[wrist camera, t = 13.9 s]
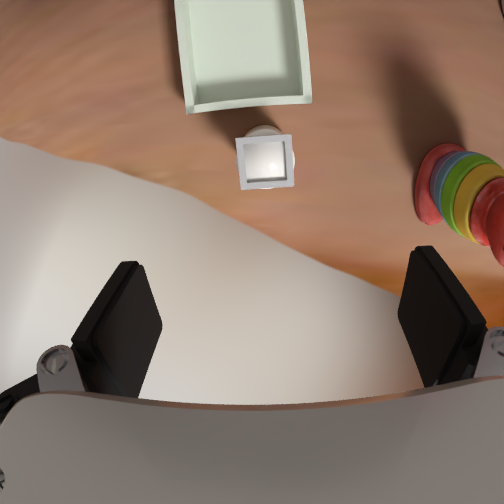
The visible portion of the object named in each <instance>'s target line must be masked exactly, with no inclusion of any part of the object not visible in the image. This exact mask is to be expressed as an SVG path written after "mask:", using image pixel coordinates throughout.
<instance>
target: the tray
mask: <svg viewBox="0 0 504 504" xmlns="http://www.w3.org/2000/svg"><path fill="white" fill-rule="evenodd" d="M174 3H175V14H176V25H177V35H178V45H179V54H180V63H181V72H182V80H183V89H184V97H185V104H186V112H187V114H192V113H199V112H206V111H214V110H222V109H231V108H241V107H252V106H265V105H281V104H306V103H312V90H311V77H310V64H309V53H308V43H307V33H306V23H305V15H304V6H303V0H174Z"/></svg>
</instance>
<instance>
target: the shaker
mask: <svg viewBox="0 0 504 504" xmlns="http://www.w3.org/2000/svg"><path fill="white" fill-rule="evenodd" d="M235 139H236V148H237V157H236V165H237V169H238V172H239V175H240V184H241V190H248V189H271V188H276V187H292V186H294V173H293V169H294V165H295V158H294V153H293V151H292V138H291V134H284V133H283V132H282V131H281V130H279V129H278V128H276V127H274V126H270V125H259V126H256V127H254V128H252V129H250V130H249V131H248V132H247V133H246V134H245V136H244V137H239V138H235Z"/></svg>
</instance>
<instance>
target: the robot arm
mask: <svg viewBox="0 0 504 504" xmlns="http://www.w3.org/2000/svg"><path fill="white" fill-rule="evenodd" d="M501 3H502V9H503V13H504V0H501ZM398 319H399V322H400V324H401V327H402V329H403V332H404V334H405V337H406V339H407V341H408V344H409V347H410V349H411V352H412V354H413V357H414V360H415V362H416V365H417V368H418V370H419V373H420V376H421V379H422V381H423V384H424V387H425V388H422V389H416V390H410V391H405V392H399V393H393V394H387V395H380V396H373V397H366V398H357V399H348V400H339V401H328V402H315V403H300V404H275V405H224V404H198V403H182V402H169V401H158V400H149V399H139V398H138V396H139V393H140V390H141V387H142V384H143V382H144V379H145V376H146V373H147V370H148V367H149V364H150V362H151V358H152V356H153V353H154V350H155V348H156V345H157V342H158V339H159V336H160V334H161V331H162V320H161V317H160V315H159V312H158V309H157V306H156V303H155V300H154V297H153V295H152V292H151V288H150V285H149V282H148V280H147V276H146V273H145V270H144V267H143V266H142V265H139V263H138V262H137V261H125V262H121V263H120V264H119V265H118V267H117V268H116V270H115V271H114V273H113V274H112V276H111V277H110V279H109V280H108V281H107V283H106V284H105V286H104V287H103V289H102V290H101V292H100V293H99V295H98V297H97V298H96V300H95V301H94V303H93V304H92V306H91V307H90V309H89V311H88V312H87V314H86V315H85V317H84V318H83V320H82V322H81V323H80V325H79V327H78V328H77V330H76V332H75V333H74V335H73V337H72V338H71V341H72V343H73V344H72V346H71V348H69V347H68V346H65V345H57V346H54V347H51V348H50V349H48V350H46V351H45V352H44V353H43V354H42V355H41V357H40V358H39V360H38V362H37V374H35V375H33V376H32V377H30V378H28V379H26V380H24V381H22V382H20V383H19V384H17V385H15V386H13V387H11V388H9V389H7V390H5V391H4V392H2V393H1V394H0V504H504V327H493V328H490V329H489V330H488V329H487V327H486V326H485V324H486V320H485V318H484V317H483V315H482V314H481V312H480V311H479V309H478V308H477V306H476V305H475V303H474V302H473V300H472V299H471V297H470V296H469V294H468V293H467V292H466V290H465V289H464V287H463V286H462V284H461V283H460V282H459V280H458V279H457V278H456V276H455V275H454V273H453V272H452V271H451V269H450V268H449V267H448V265H447V264H446V263H445V261H444V260H443V259H442V258H441V256H440V255H439V254H438V252H437V251H436V250H435V249H434V247H433V246H417V247H416V248H415V250H414V251H411V253H410V258H409V263H408V268H407V273H406V278H405V282H404V287H403V291H402V296H401V300H400V304H399V308H398Z"/></svg>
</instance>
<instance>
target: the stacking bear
mask: <svg viewBox="0 0 504 504" xmlns="http://www.w3.org/2000/svg"><path fill="white" fill-rule="evenodd" d="M415 207H416V212H417V216H418V218H419V220H420V221H422V222H424V223H425V224H427V225H433V224H437V223H439V222H440V221H441V220H443V219H444V221H445V222H446V223H447V224H448V225H449V226H450V228H451V229H453V230H454V231H455V232H457V233H458V234H460V235H461V236H463V237H465V238H467V239H469V240H471V241H473V242H475V243H478V244H481V245H483V246H487V247H489V246H490V247H491V250H492V252H493V255H494V256H495V258H496V260H497V261H498V262H499V263H500V264H501V265H502V266H503V267H504V170H503V169H502V168H501V167H500V166H499V165H498V164H497V163H496V162H494V161H493V160H492V159H490V158H489V157H487V156H484V155H482V154H479V153H475V152H468V151H466V150H465V149H463V148H462V147H460V146H458V145H456V144H452V143H445V144H441V145H438V146H436V147H435V148H433V149H432V150H431V151H430V152H429V153H428V154H427V155H426V156H425V158H424V160H423V161H422V164H421V166H420V169H419V172H418V176H417V180H416V186H415Z"/></svg>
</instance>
